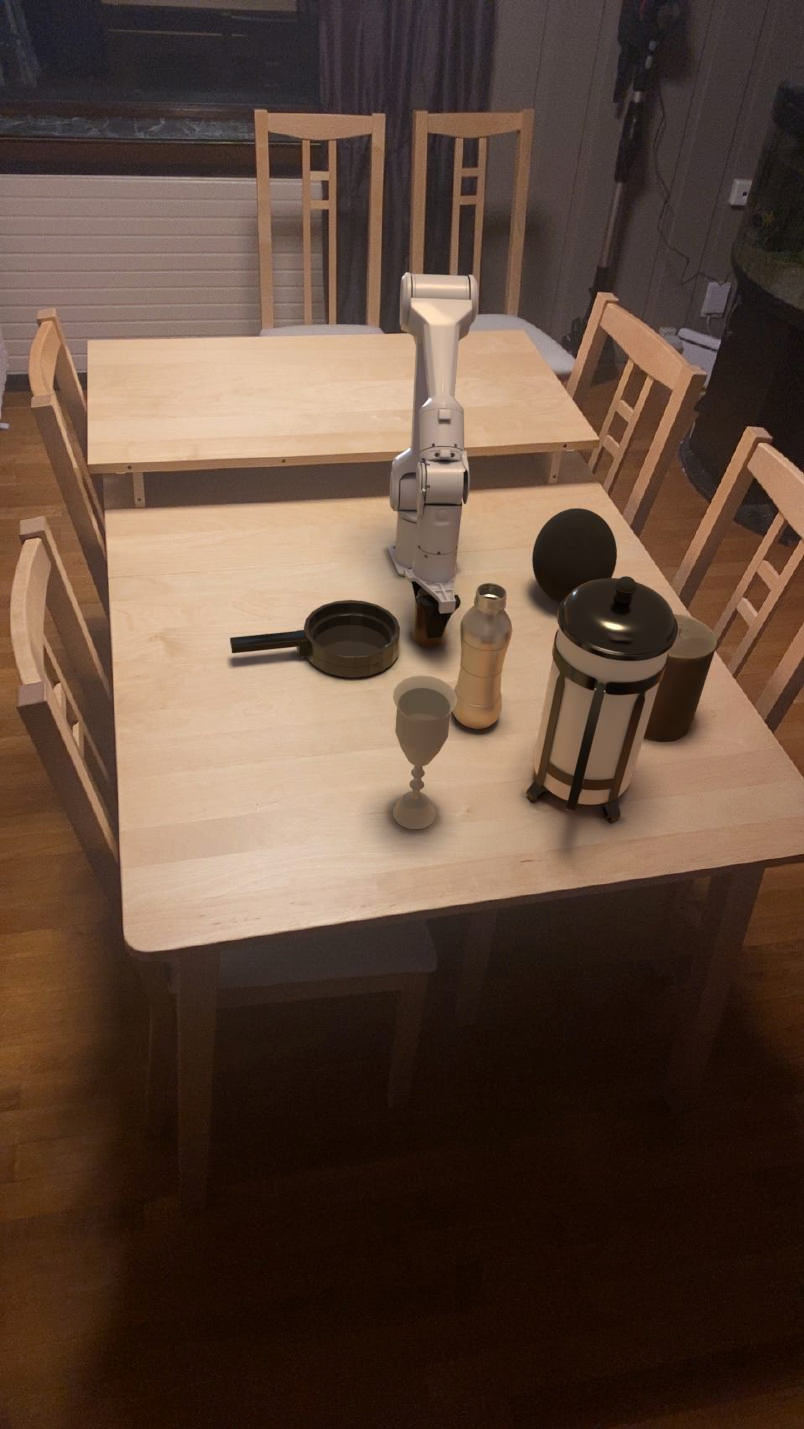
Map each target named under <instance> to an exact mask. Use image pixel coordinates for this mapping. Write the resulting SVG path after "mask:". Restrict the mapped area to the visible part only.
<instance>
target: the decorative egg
mask: <svg viewBox="0 0 804 1429" xmlns="http://www.w3.org/2000/svg"><path fill="white" fill-rule="evenodd" d="M616 541H617V540H616V538H615V535H614V533H613V530H612V529H611V527H610V525H609V524H608V522H607V521H606V520H605V519H604V518H603V517H602V516H601V515H599V514H598V513H596V512H594V511H592V510H590V509H586V508H581V507H580V508H579V507H577V508H576V507H575V508H568V509H565V510H562V511H559V512H558V513H556V514H555V515H553V516H552V517H551V518H550V519H549V520H547V521H546V523H544V525H543V526H542V527H541V529H540V530H539V532H538V534H537V536H536V539H535V540H534V543H533V544H534V545H533V549H532V556H531V557H532V558H531V563H532V571H533V575H534V578H535V580H536V583H537V585H538V587H539V589H541V591H542V592H543V593H544V594H545V595H546V596H547V598H549V599H551V600H552V601H554V602H556V603H558V604H559V605H560V604H561V602H562V601H563V599H564V598H565V597H566V596H568V595H569V594H570V593H571V592H572V591H573V590H574V589H575V588H577V587H578V586H580V585H582V584H584V583H586V582H589V581H592V580H596V579H602V578H613V575H614V573H615V571H616V567H617V559H618V548H617V547H618V546H617V542H616Z"/></svg>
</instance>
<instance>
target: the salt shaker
mask: <svg viewBox="0 0 804 1429" xmlns="http://www.w3.org/2000/svg"><path fill="white" fill-rule="evenodd" d="M422 595H431V594H429V593H428V592H427V591H426V590H425V589H424V588H420V589H419V591H418V595H417V596H416V599H415V598H414V610H413V611H414V612H413V624H412V640H413V642H414V643H415V644H416V645H418V646H420V647H423V648H428V649H430V648H432V649H433V648H436V647H439V646H441V645H442V644H443V643H444V642H445V636H446V629H445V630H444V633H443V635H442V637H439V638H428V637H427V635H426V631H425V618H424V612H423V608H422V606H421V604H420V602H419V600H418V596H422Z"/></svg>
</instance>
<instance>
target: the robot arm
mask: <svg viewBox="0 0 804 1429" xmlns="http://www.w3.org/2000/svg"><path fill="white" fill-rule="evenodd" d="M478 298H479V286H478V281H477V279H476V278H475V276H474V275H473V274H467V275H457V274H456V275H454V274H451V275H450V274H430V273H429V274H428V273H427V274H426V273H425V274H424V273H411V272H405V273H404V274H403V275H402V277H401V280H400V290H399V326H400V330H401V331H402V332H405V333H408V334H409V335H411V336H412V338H413V341H414V345H415V355H414V356H415V357H414V358H415V359H414V376H413V377H414V378H413V401H412V419H411V436H410V438H411V439H410V440H411V441H410V446H409V447H408V448H407V449H405V450H404V451H403V452H401V453H400V454H397V455H396V456H395V457H394V458H393V461H392V462H391V472H390V476H389V506H390V508H391V509H392V511H393V512H397V516H396V518H397V519H396V537H395V545H392V546H388V547H387V552H388V554H389V556H390V558H391V560H392V562H393V566H394V567H395V569H396V572H397V575H399V576H402V577H403V576H405V579H406V581H408V582H410V584H411V586H412V591H413V596H414V600H415V599H416V596H417V595H418V591H419V589H420V588H424V589H425V590H426V591H427V592H428V593H429V594H431V595H422V596H418V600H419V602H420V604H421V606H422V608H423V612H424V618H425V631H426V635H427V637H428V638H439V637H442V635H443V633H444V630H445V631H446V627H447V625H448V624H449V623H448V622H450V619H451V617H452V616H453V615H454V613H455V612H456V611H457V609H459V608H460V606H461V598H460V596H459V594H455V590H456V583H457V570H458V566H457V558H458V550H459V540H460V531H461V530H460V529H461V521H462V514H463V505H467V503H468V499H469V495H470V486H471V472H470V471H471V470H470V466H469V460H468V451H467V450H465V409H464V407H463V406H462V405H461V404H460V403H459V402H458V400H457V399H456V397H455V396H456V383H457V370H458V354H459V342H460V341H461V340H462V339H464V338H466V337H467V336H468V335H469V332H470V329H471V326H472V325H473V324H474V323H475V320H476V317H477V311H478V301H479V299H478Z"/></svg>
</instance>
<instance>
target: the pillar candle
mask: <svg viewBox="0 0 804 1429" xmlns="http://www.w3.org/2000/svg"><path fill="white" fill-rule="evenodd" d="M673 614H674V617H675V618H676V621H677V624H678V634H677V638H676V641H675V643H674V645H673V646H672V647H671V648H670V649H669V652H668V654H669V658H668V663H667V666H666V670H665V673H664V676H663V678H662V680H661V681H660V683H659V686H658V689H657V693H656V696H655V700H654V703H653V707H652V710H651V714H650V717H649V721H648V724H647V727H646V731H645V734H644V738H645V739H647V740H648V739H649V740H652V741H660V742H666V741H675V740H679V739H681V738H682V737H683V736H685V735H687V734H688V733H689V731H690V730H691V729H692V725H693V722H694V719H695V715H696V713H697V710H698V706H699V703H700V700H701V697H702V694H703V690H704V687H705V683H706V681H707V677H708V674H709V672H710V668H711V665H712V661H713V659H714V656H715V652H716V649H717V645H718V639H717V636H716V633H714V631H713V630H712V628H710V627H709V626H708V625H707V624H705V623H704V622H702V621H700V620H698V619H697V618H696V617H692V616H689V615H686V614H681V613H680V614H677V613H673Z"/></svg>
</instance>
